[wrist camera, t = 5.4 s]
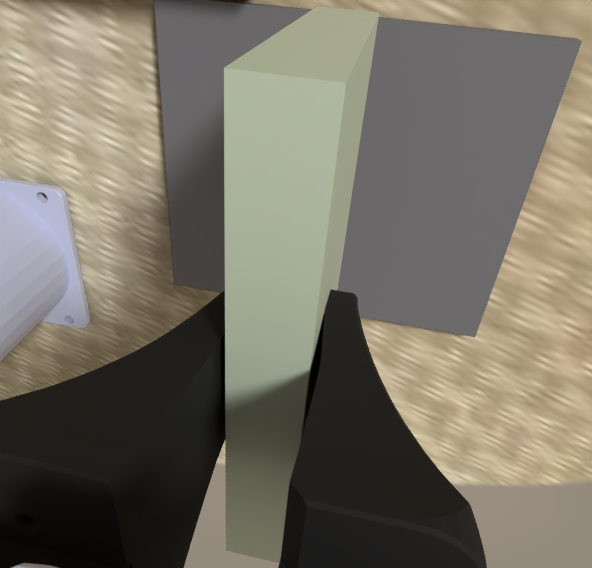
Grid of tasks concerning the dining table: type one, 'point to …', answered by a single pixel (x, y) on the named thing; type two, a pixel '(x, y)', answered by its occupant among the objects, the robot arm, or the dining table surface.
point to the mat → (378, 153)
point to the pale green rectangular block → (284, 247)
